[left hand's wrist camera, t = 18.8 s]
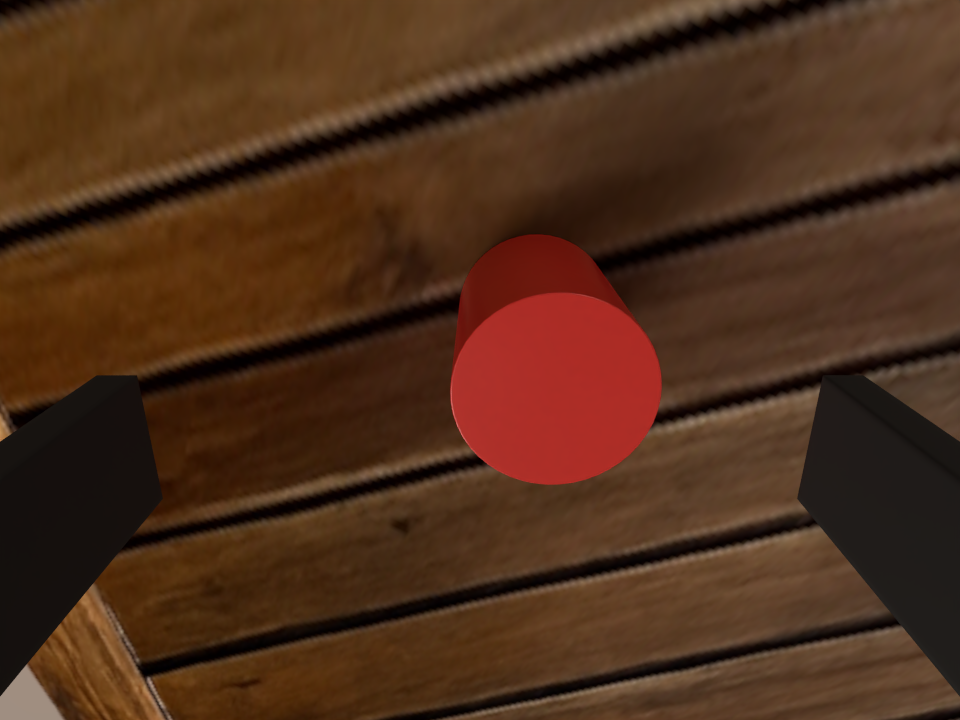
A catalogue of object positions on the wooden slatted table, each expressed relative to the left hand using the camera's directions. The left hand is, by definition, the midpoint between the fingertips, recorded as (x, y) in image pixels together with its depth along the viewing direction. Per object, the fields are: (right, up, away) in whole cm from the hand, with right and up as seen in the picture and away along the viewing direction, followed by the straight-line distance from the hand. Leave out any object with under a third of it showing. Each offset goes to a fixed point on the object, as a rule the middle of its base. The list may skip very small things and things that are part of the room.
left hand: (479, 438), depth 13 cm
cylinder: (+3, +4, +18) cm, 18 cm away
